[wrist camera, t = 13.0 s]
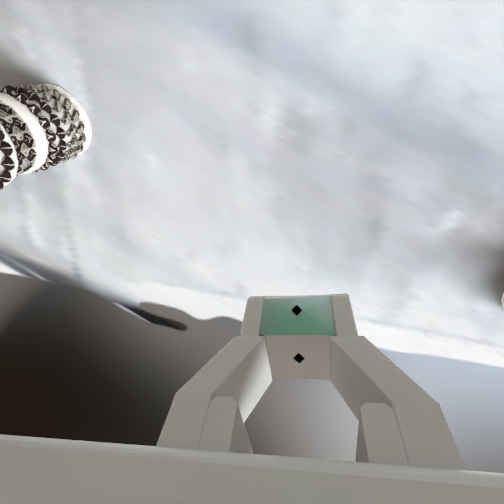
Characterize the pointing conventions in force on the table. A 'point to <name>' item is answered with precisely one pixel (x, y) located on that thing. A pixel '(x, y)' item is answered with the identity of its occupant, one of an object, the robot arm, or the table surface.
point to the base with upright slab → (502, 300)
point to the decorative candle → (39, 129)
